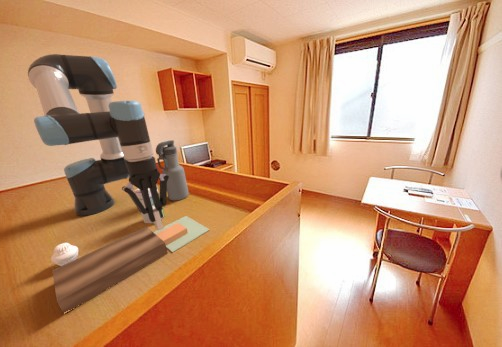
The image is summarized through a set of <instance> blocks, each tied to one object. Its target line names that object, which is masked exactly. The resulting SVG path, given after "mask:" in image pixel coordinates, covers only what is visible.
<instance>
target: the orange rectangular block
mask: <svg viewBox="0 0 502 347" xmlns="http://www.w3.org/2000/svg"><path fill="white" fill-rule="evenodd" d="M187 233H188V231H187V228H186V227H184V226H183V225H181V224H180V223H176V224H175V225H173V226H171V227H169V228H167V229H165V230H163V231H161V232H159V233H157V234H156V235H157V236H158V237H159V238H160V239H162V240H163V241H164V242H165V245H168V244H170V243H171V242H173V241H175V240H177V239H178V238H180V237H182V236H184V235H185V234H187Z"/></svg>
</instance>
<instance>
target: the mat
mask: <svg viewBox="0 0 502 347" xmlns="http://www.w3.org/2000/svg"><path fill="white" fill-rule="evenodd" d="M176 223H180V224H181V225H183V226H184V227H186V228H187V231H188V233H187V234H185V235H184V236H182V237H180V238H178V239H177V240H175V241H173V242H171V243H170V244H168V245H166V248H167V250H168V251H170V252H171V253H175V252H176V251H179V250H180V248H183V247H184V246H186V245H187V244H189V243H191V242H192V241H195V240H196V239H197V238H200V237H201V236H203V235H204V234H206V233H208V232H210V229H209V228H208V227H206V226H205V225H203V224H201V223H199V222H197V221H196V220H194V219H193V218H190V217H189V216H187V215H185V216H183V217H181V218H178V219H177V220H175V221H172V222H170V223H168V224H167V225H165V226H164V225H163V229H161V230H157V229H156V230H155V231H152V232H153V233H155V234H157V233H159V232H161V231H163V230H165V229H167V228H169V227H171V226H173V225H175V224H176Z"/></svg>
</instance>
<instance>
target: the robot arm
mask: <svg viewBox="0 0 502 347" xmlns="http://www.w3.org/2000/svg"><path fill="white" fill-rule="evenodd" d="M27 77H28V80H29V83H30V84H31V85H32V86H33V87H34V88H35V89H36V92H37V95H38V98H39V101H40V104H41V107H42V111H43V114H44V115H41V116H37V117H35V118H34V119H33V121H34V122H33V123H34V126H35V128H36V130H37V133H38V135H39V137H40V139H41V141H42V143H43V144H44V145H45V146H49V147H54V146H68V145H72V144H78V143H85V142H93V141H99V144H100V147H101V150H102V153H100V154H99V157H100V159H95V158H94V157H89V158H85V159H81V160H78V161H74V162H72V163H69V164H67V165H66V166H64V168H63V172H64V175H65V178H66V179H67V182H68V185H69V187H70V189H71V192H72V194H73V196H74V212H75V215H76V216H78V217H83V216H84V217H85V216H90V215H95V214H97V213H100V212H104V211H105V210H108V209H110V208H111V207H112V206H114V204H115V200H114V198H113V197H112V195H111V194H110V193H109V192H108V190H106V188H105V185H106V184H110V183H113V182H114V183H115V182H118V181H122V180H126V179H128V183H127V184H125V186H124V185H123V186H122V187H121V190H122V191H124V192H125V193H127V194H128V196H129V197H130V199H131V200H132V201H133V203H134V205H135V206H136V207H137V210H139V212H140V213H143V214H146V213H148V216H149V219H150V221H151V222H154V223H153V224H154V227H155V229H156V230H161V229H163V227H164V225H163V222H162V219H163V218H164V217H163V213H162V209H163V210H164V207H165V206H167V204H168V202H167V198H168V194H167V181H168V178H169V176H167V175H165V174H163V173H161V172H160V171H159V169H158V166H157V160H156V158H155V156H153V155H154V150H153V147H152V142H151V138H150V135H149V131H148V126H147V121H146V118H145V113H144V110H143V107H142V104H141V103H140V102H139V101H138V100H120V101H112V96H113V95H114V94H115V92H114V90H116V89H117V87H118V86H117V81H116V78H115V75H114V73H113V71H112V69H111V67H110V65H109V63H108V62H107V60H105V59H104V58H103V57H99V56H98V57H97V56H88V55H87V56H85V55H73V54H59V53H58V54H57V53H54V54H53V53H52V54H47V55H43V56H40V57H39V58H37V59H35V60H34V61H32V63H31V64H30V65H29V67H28V69H27ZM70 90H78V93H79V95H80V96H82V97H83V98H85V100H86V103H87V106H88V108H89V112H84V113H83V112H82V113H80V111H79V109H78V107H77V105H76V102H75V100H74V98H73V96H72V94H71V92H70ZM158 181H159V191H158V192H159V196H160V199H159V196H158V192H157V188H158V185H157V183H158ZM156 185H157V186H156ZM133 186H134V187H136V188H137V189H138V188H139V189H140V191H141V194H142V197H143V201H144V204H145V207H146V208H144V206H143V205H142V203H141V202H140V200H139V199H138V197H137V196H136V194H135V192H134V191H135V190H134V189H135V188H134V187H133ZM148 188H149V189H150V192H151V195H152V199H153V203H154V206H155V208H156V209H153V208H152V204H151V201H150V197H149V193H148V192H149V191H148ZM162 207H163V208H162ZM161 218H162V219H161Z"/></svg>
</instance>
